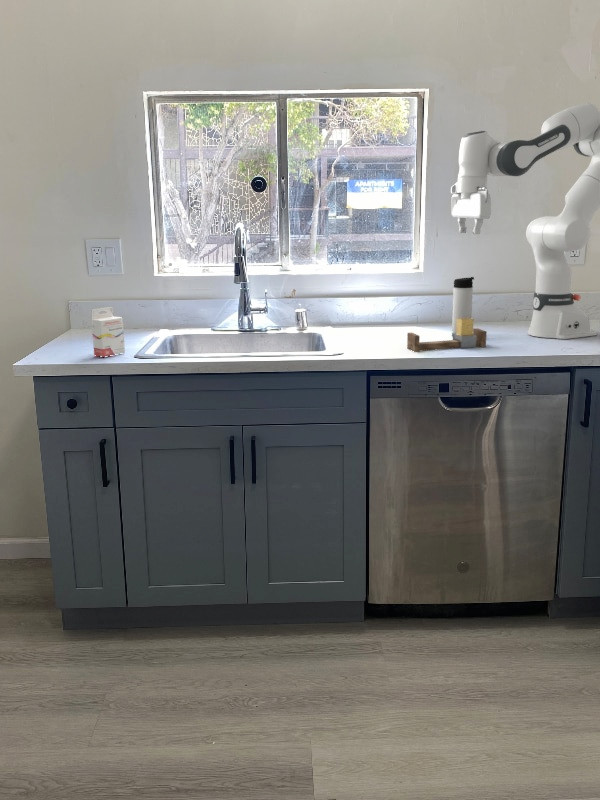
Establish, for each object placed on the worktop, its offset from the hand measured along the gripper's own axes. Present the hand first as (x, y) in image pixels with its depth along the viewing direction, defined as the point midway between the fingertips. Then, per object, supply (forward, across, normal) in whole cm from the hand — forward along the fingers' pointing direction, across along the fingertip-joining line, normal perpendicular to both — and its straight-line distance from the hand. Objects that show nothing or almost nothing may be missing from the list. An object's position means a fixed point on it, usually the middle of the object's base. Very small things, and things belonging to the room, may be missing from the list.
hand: (469, 233), depth 228 cm
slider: (+35, -5, +2) cm, 35 cm away
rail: (+35, -5, +8) cm, 36 cm away
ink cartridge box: (+37, +18, +111) cm, 119 cm away
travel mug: (+35, +11, -5) cm, 37 cm away
